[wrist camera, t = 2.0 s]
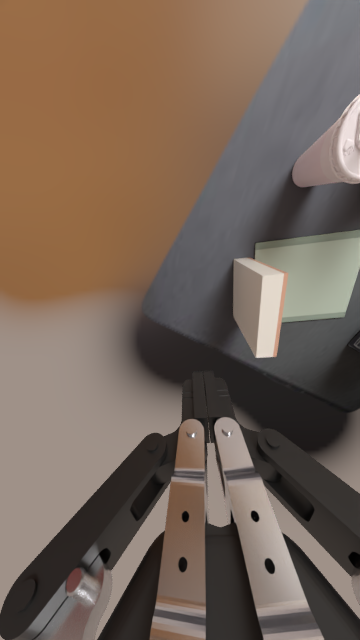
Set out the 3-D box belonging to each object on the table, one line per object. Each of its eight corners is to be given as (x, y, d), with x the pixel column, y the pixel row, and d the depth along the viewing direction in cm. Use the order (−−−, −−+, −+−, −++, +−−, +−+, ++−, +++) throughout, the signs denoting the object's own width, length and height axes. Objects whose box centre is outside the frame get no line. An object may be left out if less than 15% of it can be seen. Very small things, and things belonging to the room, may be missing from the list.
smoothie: (310, 122, 21) (494, -42, 8) (345, 158, 22) (550, 64, 10) (270, 180, 23) (366, 120, 11) (304, 209, 25) (425, 187, 12)
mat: (369, 228, 26) (372, 228, 25) (342, 316, 32) (344, 317, 31) (255, 242, 27) (256, 243, 27) (250, 324, 33) (251, 325, 33)
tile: (249, 257, 28) (288, 273, 17) (246, 315, 32) (276, 356, 21) (233, 259, 28) (262, 275, 17) (233, 316, 32) (256, 357, 22)
